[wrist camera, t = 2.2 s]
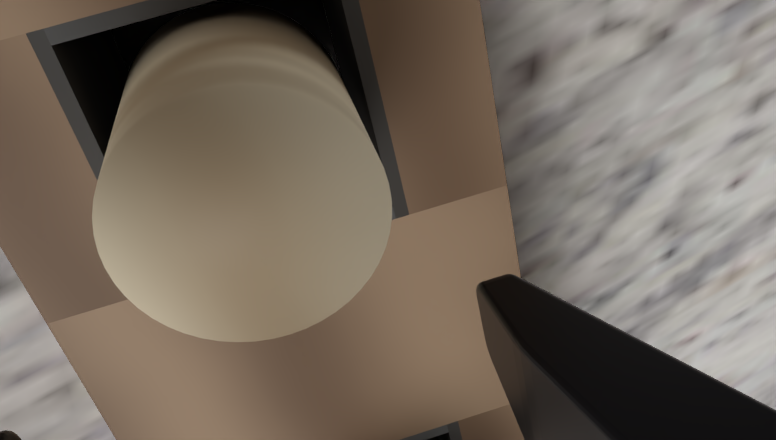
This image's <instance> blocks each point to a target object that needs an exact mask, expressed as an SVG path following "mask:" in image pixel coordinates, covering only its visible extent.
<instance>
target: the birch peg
mask: <svg viewBox="0 0 776 440" xmlns="http://www.w3.org/2000/svg"><path fill="white" fill-rule="evenodd" d="M391 221H392V198H391V192H390V186H389V182H388V179H387V176H386V173H385V170H384V167H383V165H382V163H381V161H380V158H379V156H378V154H377V152H376V150H375V148H374V146H373V144H372V142H371V140H370V138H369V135H368V133H367V131H366V129H365V127H364V125H363V123H362V121H361V119H360V117H359V114H358V112H357V110H356V108H355V106H354V104H353V102H352V100H351V98H350V96H349V94H348V91H347V89H346V87H345V85H344V83H343V81H342V79H341V77H340V75H339V73H338V70H337V68H336V66H335V64H334V62H333V60H332V58H331V57H330V55H329V54H328V52H327V51H326V49H325V48H324V46H323V45H322V44H321V43H320V42H319V41H318V40H317V38H316V37H315V36H314V35H313V34H312V33H310V32H309V31H308V30H307V29H306V28H305V27H303V26H302V25H301V24H299V23H298V22H296V21H295V20H293V19H292V18H290V17H288V16H286V15H284V14H282V13H280V12H277V11H275V10H272V9H269V8H266V7H263V6H258V5H253V4H248V3H233V2H230V3H216V4H211V5H206V6H201V7H198V8H195V9H192V10H190V11H187V12H185V13H183V14H181V15H179V16H177V17H175V18H173V19H171V20H170V21H169V22H167V23H166V24H164V25H163V26H161V27H160V28H159V29H158V30H157V31H156V32H155V33H154V34H153V35H152V36H151V37H150V38H149V39H148V40H147V41H146V43H145V44H144V45H143V46H142V48H141V49H140V51H139V52H138V54H137V56H136V57H135V59H134V61H133V63H132V66H131V68H130V71H129V73H128V76H127V80H126V83H125V87H124V90H123V94H122V97H121V101H120V104H119V108H118V111H117V115H116V118H115V122H114V125H113V129H112V132H111V136H110V139H109V143H108V146H107V150H106V153H105V157H104V160H103V164H102V167H101V171H100V174H99V178H98V181H97V185H96V189H95V194H94V198H93V209H92V224H93V235H94V239H95V243H96V247H97V251H98V254H99V256H100V258H101V261H102V263H103V265H104V268H105V269H106V271H107V273H108V274H109V276H110V277H111V279H112V281H113V282H114V284H115V285H116V286H117V287H118V289H119V290H120V291H121V292H122V293H123V295H124V296H125V297H126V298H127V299H128V300H130V301H131V302H132V303H133V304H134V305H135V306H136V307H137V308H138V309H140V310H141V311H143V312H144V313H145V314H147V315H148V316H150V317H151V318H152V319H154V320H156V321H158V322H160V323H162V324H163V325H165V326H167V327H169V328H172V329H174V330H177V331H179V332H182V333H184V334H188V335H192V336H195V337H199V338H203V339H209V340H215V341H224V342H255V341H262V340H269V339H274V338H278V337H282V336H286V335H290V334H293V333H296V332H298V331H301V330H304V329H306V328H308V327H310V326H313V325H315V324H317V323H319V322H321V321H323V320H324V319H326V318H327V317H329V316H330V315H332V314H334V313H335V312H337V311H338V310H339V309H340V308H342V307H343V306H344V305H345V304H347V303H348V302H349V301H350V300H351V299H352V298H353V297H354V296H355V295H356V294H357V293H358V292H359V291H360V290H361V289H362V288H363V286H364V285H365V284H366V283H367V281H368V280H369V279H370V277H371V276H372V274H373V273H374V271H375V269H376V267H377V266H378V264H379V262H380V260H381V258H382V255H383V253H384V251H385V248H386V245H387V241H388V238H389V234H390V229H391Z"/></svg>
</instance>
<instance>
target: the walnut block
mask: <svg viewBox="0 0 776 440" xmlns="http://www.w3.org/2000/svg"><path fill="white" fill-rule="evenodd" d="M212 1H215V0H0V247H1V248H2V250H3V252H4V253H5V255H6V257H7V258H8V260H9V262H10V263H11V265H12V267H13V268H14V270H15V272H16V273H17V275H18V277H19V278H20V280H21V282H22V283H23V285H24V287H25V288H26V290H27V292H28V293H29V295H30V297H31V298H32V300H33V302H34V303H35V305H36V307H37V308H38V310H39V312H40V313H41V315H42V317H43V318H44V320H45V322H46V323H47V325H48V327H49V328H50V330H51V332H52V333H53V335H54V337H55V338H56V340H57V342H58V343H59V345H60V347H61V348H62V350H63V352H64V353H65V355H66V357H67V358H68V360H69V362H70V363H71V365H72V367H73V368H74V370H75V372H76V373H77V375H78V377H79V378H80V380H81V382H82V383H83V385H84V387H85V388H86V390H87V392H88V393H89V395H90V397H91V398H92V400H93V402H94V403H95V405H96V407H97V408H98V410H99V412H100V413H101V415H102V417H103V418H104V420H105V422H106V423H107V425H108V427H109V428H110V430H111V432H112V433H113V435H114V437H115V438H116V440H524V437H523V435H522V432H521V430H520V428H519V425H518V423H517V420H516V418H515V415H514V413H513V411H512V408H511V406H510V403H509V401H508V399H507V396H506V394H505V391H504V389H503V387H502V384H501V382H500V379H499V377H498V374H497V372H496V370H495V367H494V365H493V362H492V360H491V357H490V355H489V352H488V349H487V345H486V341H485V337H484V331H483V326H482V321H481V316H480V311H479V306H478V300H477V295H476V288H477V285H478V284H479V283H480V282H482V281H486V280H489V279H492V278H495V277H498V276H502V275H505V274H513V275H516V276H518V277H520V278H521V275H520V269H519V262H518V255H517V249H516V242H515V235H514V228H513V222H512V215H511V208H510V202H509V195H508V188H507V181H506V175H505V168H504V161H503V154H502V148H501V141H500V134H499V128H498V121H497V114H496V107H495V101H494V94H493V87H492V81H491V74H490V67H489V60H488V54H487V47H486V40H485V34H484V27H483V20H482V13H481V7H480V0H322V3H323V6H324V10H325V14H326V18H327V22H328V25H329V29H330V33H331V37H332V41H333V45H334V48H335V52H336V56H337V60H338V64H339V67H340V71H341V75H342V79H343V83H344V85H345V87H346V89H347V91H348V94H349V96H350V98H351V100H352V102H353V104H354V106H355V108H356V110H357V112H358V114H359V117H360V119H361V121H362V123H363V125H364V127H365V129H366V131H367V133H368V135H369V138H370V140H371V142H372V144H373V146H374V148H375V150H376V152H377V154H378V156H379V158H380V161H381V163H382V165H383V167H384V170H385V173H386V176H387V179H388V182H389V186H390V192H391V198H392V221H391V229H390V234H389V238H388V241H387V245H386V248H385V251H384V253H383V255H382V258H381V260H380V262H379V264H378V266H377V267H376V269H375V271H374V273H373V274H372V276H371V277H370V279H369V280H368V281H367V283H366V284H365V285H364V286H363V288H362V289H361V290H360V291H359V292H358V293H357V294H356V295H355V296H354V297H353V298H352V299H351V300H350V301H349V302H348V303H347V304H345V305H344V306H343V307H342V308H340V309H339V310H338V311H337V312H335V313H334V314H332V315H330V316H329V317H327V318H326V319H324V320H323V321H321V322H319V323H317V324H315V325H313V326H310V327H308V328H306V329H304V330H301V331H298V332H296V333H293V334H290V335H286V336H282V337H278V338H274V339H269V340H262V341H255V342H224V341H215V340H209V339H203V338H199V337H195V336H192V335H188V334H184V333H182V332H179V331H177V330H174V329H172V328H169V327H167V326H165V325H163V324H162V323H160V322H158V321H156V320H154V319H152V318H151V317H150V316H148V315H147V314H145V313H144V312H143V311H141V310H140V309H138V308H137V307H136V306H135V305H134V304H133V303H132V302H131V301H130V300H128V299H127V298H126V297H125V296H124V295H123V293H122V292H121V291H120V290H119V289H118V287H117V286H116V285H115V284H114V282H113V281H112V279H111V277H110V276H109V274H108V273H107V271H106V269H105V268H104V265H103V263H102V261H101V258H100V256H99V254H98V251H97V247H96V243H95V239H94V235H93V224H92V209H93V198H94V194H95V189H96V185H97V181H98V178H99V174H100V171H101V167H102V164H103V160H104V157H105V153H106V150H107V146H108V143H109V139H110V136H111V132H112V129H113V125H114V122H115V118H116V115H117V111H118V108H119V104H120V101H121V97H122V94H123V90H124V87H125V83H126V80H127V76H128V73H129V72H128V70H127V68H126V65H125V63H124V61H123V58H122V56H121V54H120V51H119V49H118V46H117V44H116V42H115V39H114V37H113V35H112V32H111V30H110V29H113V28H117V27H121V26H124V25H128V24H132V23H135V22H139V21H143V20H146V19H150V18H153V17H157V16H161V15H164V14H168V13H172V12H175V11H179V10H183V9H186V8H190V7H194V6H197V5H201V4H204V3H208V2H212Z"/></svg>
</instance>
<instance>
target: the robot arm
mask: <svg viewBox="0 0 776 440" xmlns="http://www.w3.org/2000/svg"><path fill="white" fill-rule="evenodd" d="M476 295H477V300H478V306H479V311H480V316H481V321H482V326H483V331H484V337H485V341H486V345H487V349H488V352H489V355H490V357H491V360H492V362H493V365H494V367H495V370H496V372H497V374H498V377H499V379H500V382H501V384H502V387H503V389H504V391H505V394H506V396H507V399H508V401H509V403H510V406H511V408H512V411H513V413H514V415H515V418H516V420H517V423H518V425H519V428H520V430H521V432H522V435H523V437H524V440H776V410H774V409H772V408H770V407H769V406H767V405H765V404H763V403H761V402H759V401H757V400H755V399H753V398H751V397H749V396H747V395H745V394H743V393H742V392H740V391H738V390H736V389H734V388H732V387H730V386H728V385H726V384H724V383H722V382H720V381H718V380H716V379H714V378H713V377H711V376H709V375H707V374H705V373H703V372H701V371H699V370H697V369H695V368H693V367H691V366H689V365H687V364H686V363H684V362H682V361H680V360H678V359H676V358H674V357H672V356H670V355H668V354H666V353H664V352H662V351H660V350H659V349H657V348H655V347H653V346H651V345H649V344H647V343H645V342H643V341H641V340H639V339H637V338H635V337H633V336H632V335H630V334H628V333H626V332H624V331H622V330H620V329H618V328H616V327H614V326H612V325H610V324H608V323H606V322H604V321H603V320H601V319H599V318H597V317H595V316H593V315H591V314H589V313H587V312H585V311H583V310H581V309H579V308H577V307H576V306H574V305H572V304H570V303H568V302H566V301H564V300H562V299H560V298H558V297H556V296H554V295H552V294H550V293H549V292H547V291H545V290H543V289H541V288H539V287H537V286H535V285H533V284H531V283H529V282H527V281H525V280H523V279H522V278H520V277H518V276H516V275H513V274H505V275H502V276H498V277H495V278H492V279H489V280H486V281H482V282H480V283H479V284H478V285H477V288H476ZM0 440H21V439H20V437H19V436H18V435H17V434H15V433H14V432H12V431H6V430H5V431H1V432H0Z"/></svg>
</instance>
